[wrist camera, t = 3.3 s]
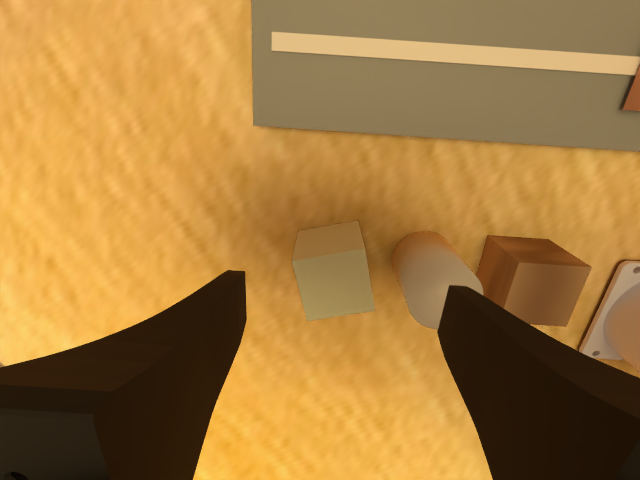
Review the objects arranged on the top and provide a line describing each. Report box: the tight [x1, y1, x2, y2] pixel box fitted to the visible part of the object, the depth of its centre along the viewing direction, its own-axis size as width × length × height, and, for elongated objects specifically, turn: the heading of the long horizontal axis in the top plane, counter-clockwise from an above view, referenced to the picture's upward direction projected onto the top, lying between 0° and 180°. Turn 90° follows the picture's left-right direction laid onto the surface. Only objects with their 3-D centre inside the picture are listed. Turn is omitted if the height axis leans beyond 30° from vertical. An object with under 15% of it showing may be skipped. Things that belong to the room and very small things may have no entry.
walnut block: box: [476, 235, 592, 327], centre depth 21 cm, size 4×4×4 cm
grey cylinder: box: [392, 231, 483, 329], centre depth 20 cm, size 4×4×5 cm
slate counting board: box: [251, 0, 640, 152], centre depth 17 cm, size 24×8×2 cm, turn 86°
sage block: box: [292, 220, 375, 321], centre depth 21 cm, size 4×4×4 cm
